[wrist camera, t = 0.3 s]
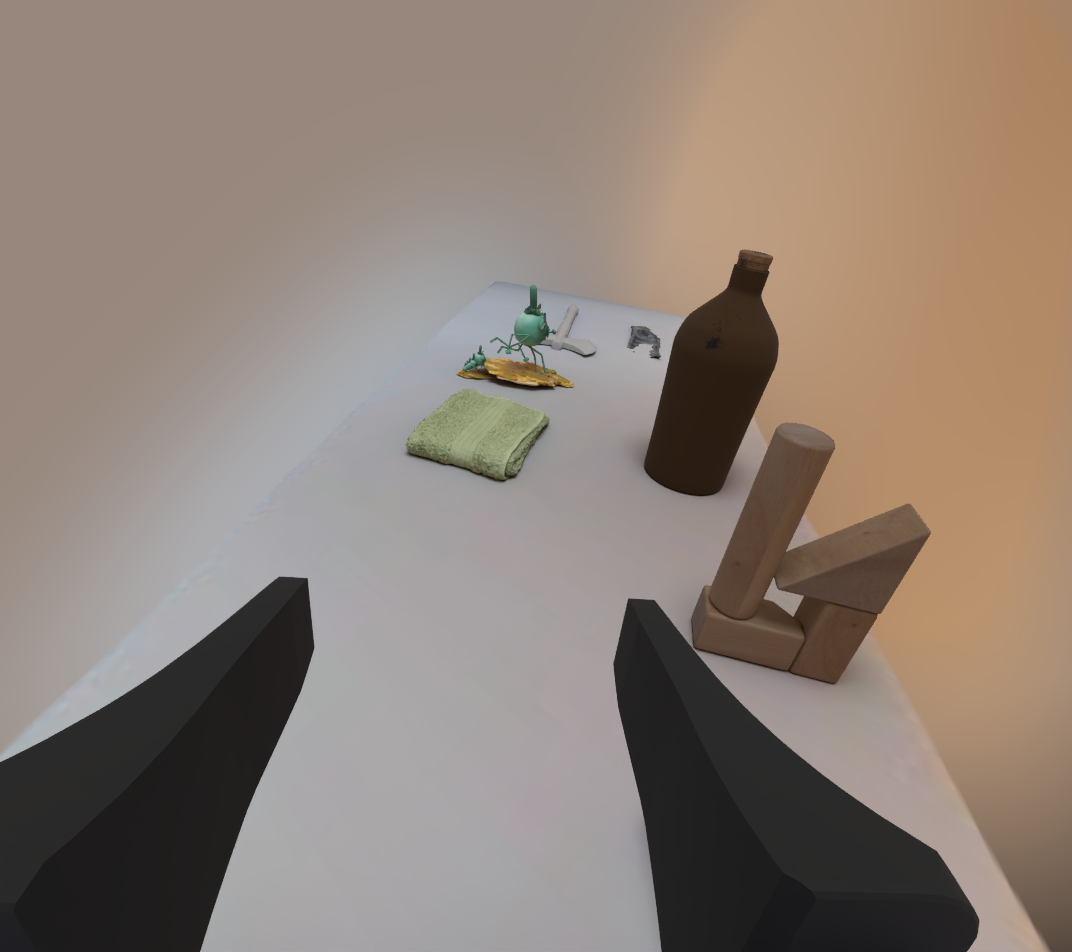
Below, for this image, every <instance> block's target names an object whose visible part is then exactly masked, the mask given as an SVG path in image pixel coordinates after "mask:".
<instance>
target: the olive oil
mask: <svg viewBox="0 0 1072 952" xmlns="http://www.w3.org/2000/svg"><path fill="white" fill-rule="evenodd" d="M738 257H739V259H738V262H737V264H735V265H734V268H733V271H732V274H731V278H730V282H729V285H728V287H727V288H726V290H725V291H723V292H722V293H720V294H719V295H718V296H716V297H715V298H713V299H711V300H710V301H708V302H707V303H705V304H704V305H702V306H701V307H699V308H698V309H696V310H695V311H693V312H692V313H691V314H690V315H689V316H688V317H687V318H686V319H685V320H684V322H683V323H682V325H681V326H680V328H679V330H678V332H677V334H676V336H675V339H674V342H673V346H672V351H671V355H670V359H669V364H668V368H667V373H666V377H665V381H664V386H663V390H662V394H661V398H660V403H659V407H658V411H657V415H656V419H655V423H654V427H653V431H652V435H651V439H650V443H649V447H648V451H647V454H646V458H645V464H644V465H645V469H646V471H647V472H648V474H649V475H650V476H651V477H652V478H653V479H654V480H656V481H657V482H659V483H660V484H662V485H664V486H666V487H668V488H671V489H673V490H676V491H679V492H683V493H687V494H693V495H709V494H713V493H716V492H718V491H719V490H720V489H721V488H722V486H723V484H724V482H725V480H726V477H727V475H728V473H729V470H730V468H731V465H732V463H733V461H734V458H735V456H736V453H737V451H738V449H739V446H740V444H741V442H742V439H743V437H744V435H745V433H746V430H747V428H748V426H749V424H750V421H751V419H752V417H753V415H754V412H755V410H756V408H757V405H758V403H759V401H760V399H761V396H762V395H763V392H764V390H765V388H766V385H767V383H768V381H769V379H770V377H771V375H772V372H773V370H774V368H775V365H776V362H777V357H778V345H779V343H778V336H777V333H776V330H775V328H774V325H773V323H772V321H771V319H770V317H769V315H768V312H767V310H766V308H765V306H764V304H763V301H762V298H761V294H762V290H763V288H764V286H765V283H766V280H767V277H768V275H769V271H768V269H769V266H770V264H771V263H772V260H773V257H772V256H771V255H768V254H765V253H761V252H756V251H750V250H741V251H740V253H739V256H738Z"/></svg>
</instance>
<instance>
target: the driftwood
mask: <svg viewBox="0 0 1072 952" xmlns="http://www.w3.org/2000/svg"><path fill="white" fill-rule="evenodd" d="M631 327H632V329H633V332H632V333H631V335H632V336H631V338H630V340H629V343H630V344H629V345H628V346H627V348H630V349H633V348H635V347H636V346H638V344H650V345H651V344H653V346H652V348H653V349H654V350H651V351H649V352H650V353H651V352H655V353H651V354H649V355H650V356H651V357H659V358H660V357H661V356H660V355H659V347H660V338H657V336H656V335H654V334H653V333H652V332H650V331H649V330H650V329H649V328H647V327H643V326H631ZM636 344H637V345H636ZM633 352H634V351H633ZM652 354H654V355H652ZM651 357H650V358H651Z"/></svg>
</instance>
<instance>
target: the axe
mask: <svg viewBox="0 0 1072 952" xmlns="http://www.w3.org/2000/svg"><path fill="white" fill-rule="evenodd" d="M578 311H579V309H578V307H577V306H576V305H570V306H569V307H568V310H567V314H566V316H565V318H564V320H563V322H562V323H561V325H560V327H559V329H558V331H557V336H555V335H551V334H549V336H548V338H547V337H546V340H544V341H542V342H541V343H540V344H546V345H551V346H552V349H555V350H561V348H566V349H569V350H572V351H575V352H578V353H580V354H583V355H588V354H591V353H594V352H595V351H596V346H595V345H594V344H593V343H592V342H591V341H589V340H581V339H571V338H566V337H567V336H568V333H569V331H570V328H571V325H572V322H573V320H574V318H575V316H576V315H577V314H578Z"/></svg>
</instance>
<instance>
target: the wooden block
mask: <svg viewBox="0 0 1072 952" xmlns="http://www.w3.org/2000/svg"><path fill="white" fill-rule="evenodd" d="M834 449H835V444H834V440H833V439H832V438H831V437H829V436H828V435H826V434H825V433H823V432H822V431H819V430H817V429H815V428H812V427H810V426H806V425H803V424H797V423H784V424H781V425H780V426H779V427H778V428H776V430H775V433H774V435H773V438H772V440H771V442H770V445H769V447H768V450H767V452H766V454H765V457H764V459H763V462H762V464H761V467H760V469H759V472H758V474H757V476H756V479H755V481H754V484H753V486H752V489H751V491H750V493H749V496H748V498H747V501H746V503H745V506H744V508H743V511H742V513H741V515H740V518H739V520H738V523H737V525H736V528H735V530H734V532H733V535H732V537H731V540H730V542H729V545H728V547H727V550H726V552H725V554H724V557H723V559H722V562H721V564H720V567H719V569H718V571H717V574H716V576H715V579H714V581H713V584H712V586H708V585H706V586H704V588H703V590H702V592H701V595H700V597H699V600H698V602H697V605H696V607H695V610H694V612H693V615H692V626H693V639H694V646H695V647H696V648H698V649H702V650H706V651H710V652H714V653H718V654H722V655H726V656H730V657H734V658H737V659H741V660H745V661H749V662H753V663H757V664H761V665H765V666H769V667H773V668H777V669H781V670H788V669H789V670H790V671H791V672H792V673H795V674H799V675H803V676H806V677H810V678H814V679H818V680H822V681H826V682H830V683H836V682H837V681H838V680H839V678H840V676H841V675H842V673H843V672H844V670H845V668H846V667H847V665H848V664H849V662H850V660H851V659H852V657H853V656H854V654H855V652H856V651H857V649H858V648H859V646H860V644H861V643H862V641H863V639H864V638H865V636H866V635H867V633H868V631H869V630H870V628H871V627H872V625H873V623H874V622H875V620H876V619H877V614H880V613H881V612H882V611H883V609H884V608H885V606H886V604H887V603H888V601H889V600H890V598H891V596H892V595H893V593H894V591H895V590H896V588H897V587H898V585H899V584H900V582H901V580H902V579H903V577H904V575H905V574H906V572H907V571H908V569H909V568H910V566H911V564H912V563H913V561H914V559H915V558H916V556H917V555H918V553H919V552H920V550H921V548H922V547H923V545H924V543H925V542H926V540H927V539H928V537H929V535H930V533H931V531H930V530H929V528H928V527H927V526H926V524H925V523H924V522H923V521H922V519H921V518H920V516H919V515H918V514H917V512H916V511H915V509H914V508H913V507H912V505H911V504H906V505H903V506H901V507H898V508H896V509H893V510H890V511H888V512H885V513H883V514H881V515H878V516H875V517H873V518H870V519H868V520H866V521H863V522H860V523H858V524H855V525H853V526H850V527H848V528H845V529H843V530H841V531H838V532H835V533H833V534H830V535H827V536H825V537H822V538H820V539H817V540H815V541H812V542H810V543H807V544H805V545H802V546H800V547H797V548H795V549H792V550H790V551H787V552H786V550H787V548H788V546H789V544H790V541H791V539H792V537H793V535H794V533H795V531H796V529H797V527H798V525H799V523H800V520H801V518H802V516H803V514H804V512H805V510H806V508H807V506H808V504H809V501H810V499H811V497H812V495H813V493H814V490H815V489H816V487H817V485H818V483H819V480H820V479H821V476H822V474H823V472H824V470H825V468H826V466H827V464H828V462H829V459H830V458H831V455H832V453H833V451H834ZM773 577H774V578H775V582H776V585H777V588H778V589H779V590H782V591H786V592H790V593H795V594H799V595H803V596H804V597H803V599H802V601H801V603H800V605H799V607H798V609H797V611H796V613H795V615H794V617H792V616H791V615H790V614H789V613H787V612H786V611H785V610H783V609H782V608H781V607H779V606H778V605H777V604H776V603H774V602H772V601H769V600H765V599H763V598H764V596H765V594H766V592H767V590H768V588H769V585H770V583H771V581H772V579H773Z"/></svg>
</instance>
